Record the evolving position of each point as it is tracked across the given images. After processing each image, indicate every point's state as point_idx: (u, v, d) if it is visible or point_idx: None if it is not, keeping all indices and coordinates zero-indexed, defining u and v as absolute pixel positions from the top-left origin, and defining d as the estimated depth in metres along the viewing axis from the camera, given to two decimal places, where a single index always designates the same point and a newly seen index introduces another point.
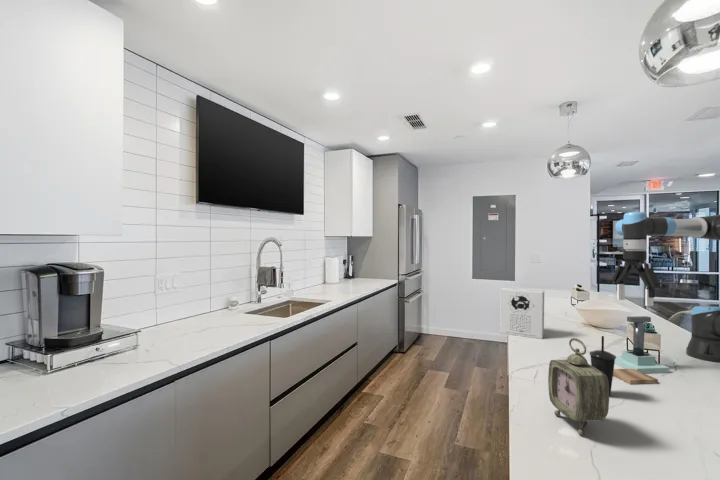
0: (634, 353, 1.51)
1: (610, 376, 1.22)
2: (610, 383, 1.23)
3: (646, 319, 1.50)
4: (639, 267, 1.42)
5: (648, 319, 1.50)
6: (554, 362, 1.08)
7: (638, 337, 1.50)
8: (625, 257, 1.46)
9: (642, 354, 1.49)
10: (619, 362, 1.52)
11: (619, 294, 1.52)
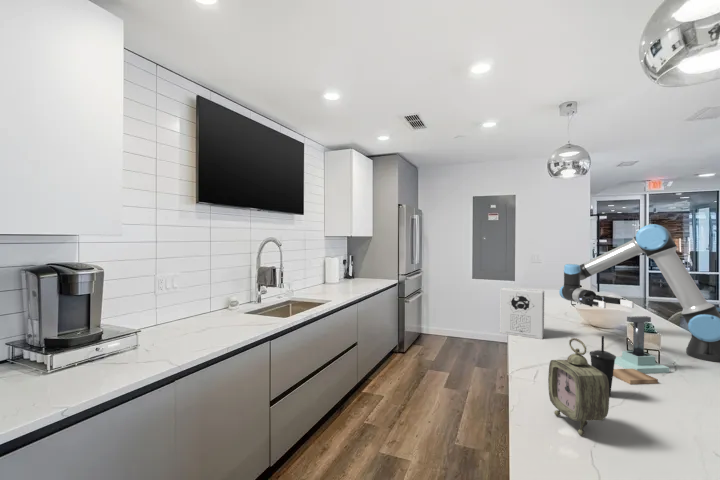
0: (634, 353, 1.51)
1: (610, 376, 1.22)
2: (610, 383, 1.23)
3: (646, 319, 1.50)
4: None
5: (648, 319, 1.50)
6: (555, 362, 1.08)
7: (638, 337, 1.50)
8: None
9: (642, 354, 1.49)
10: (619, 362, 1.52)
11: (627, 306, 1.64)
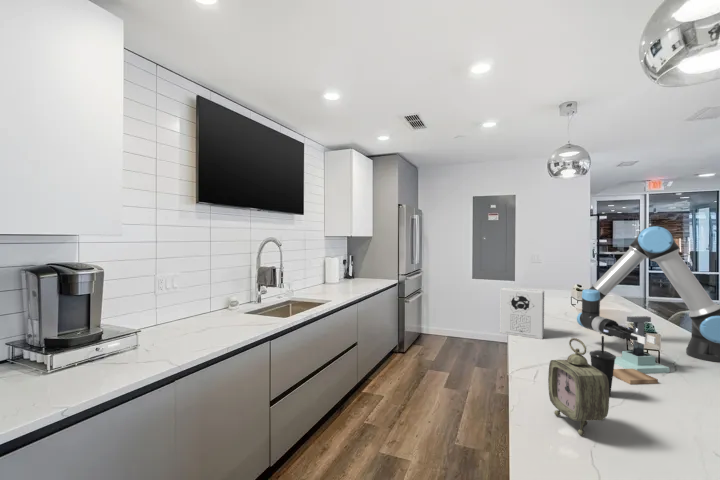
0: (634, 353, 1.51)
1: (610, 376, 1.22)
2: (610, 383, 1.23)
3: (646, 319, 1.50)
4: None
5: (648, 319, 1.50)
6: (555, 362, 1.08)
7: None
8: None
9: (642, 354, 1.49)
10: (619, 362, 1.52)
11: (649, 341, 1.48)
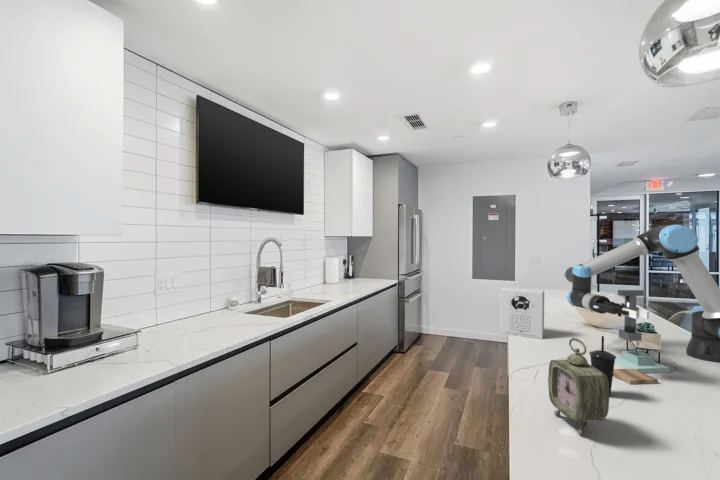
0: (625, 329, 1.40)
1: (610, 376, 1.22)
2: (610, 383, 1.23)
3: (638, 293, 1.39)
4: None
5: (641, 292, 1.39)
6: (554, 362, 1.08)
7: None
8: None
9: (634, 330, 1.38)
10: (619, 362, 1.52)
11: (641, 316, 1.37)
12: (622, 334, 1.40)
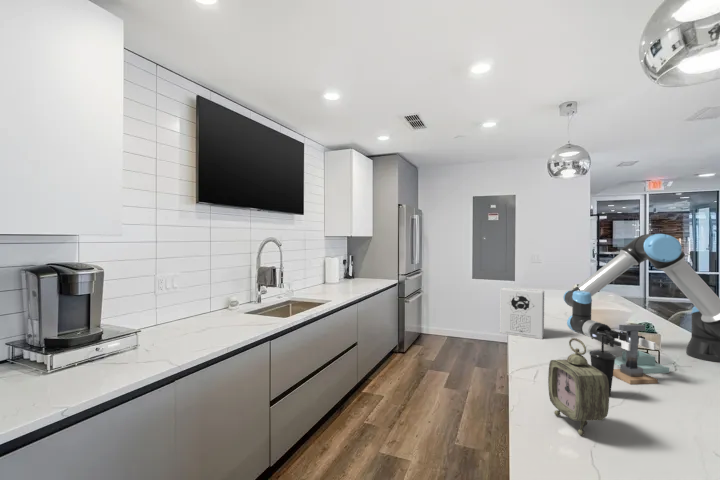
0: (627, 364, 1.39)
1: (610, 376, 1.22)
2: (610, 383, 1.23)
3: (640, 328, 1.38)
4: None
5: (642, 327, 1.38)
6: (554, 362, 1.08)
7: (631, 347, 1.38)
8: None
9: (636, 366, 1.37)
10: (619, 362, 1.52)
11: (648, 347, 1.37)
12: (624, 369, 1.39)
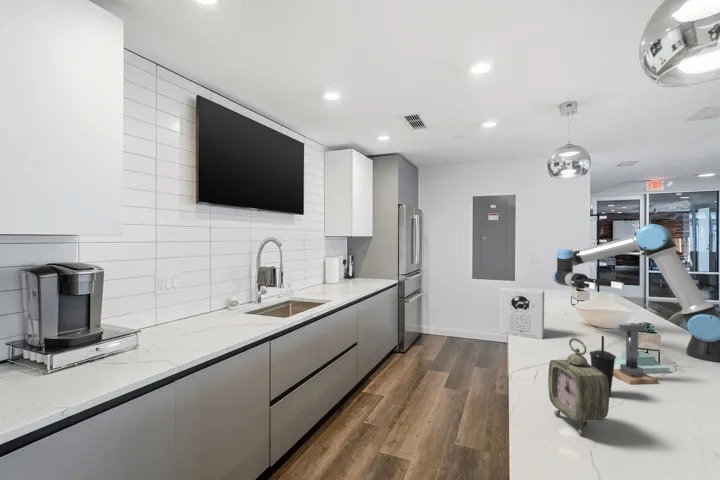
0: (627, 364, 1.39)
1: (610, 376, 1.22)
2: (610, 383, 1.23)
3: (640, 328, 1.38)
4: None
5: (642, 327, 1.38)
6: (554, 362, 1.08)
7: (631, 347, 1.38)
8: None
9: (636, 366, 1.37)
10: (619, 362, 1.52)
11: (618, 287, 1.67)
12: (624, 369, 1.39)
